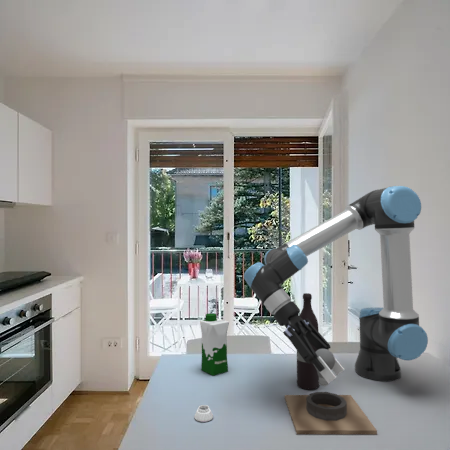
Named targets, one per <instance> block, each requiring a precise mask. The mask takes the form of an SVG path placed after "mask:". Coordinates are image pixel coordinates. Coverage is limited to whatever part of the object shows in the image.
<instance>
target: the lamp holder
mask: <svg viewBox="0 0 450 450" xmlns="http://www.w3.org/2000/svg"><path fill="white" fill-rule="evenodd" d="M284 401H285V404H286V407H287V409H288V413H289V416H290V418H291V422H292V424H293V427H294V431H295V434H296V435H378V430H377V428H376V427H375V426H374V424H373V422H371V420H370V419H369V417H368V416H367V415H366V414H365V412H364V410H362V408H361V407H360V405H359V404H358V403H357V401H356V400H355V399H354V397H353V396H352V395H351V394H337V393H333V392H329V391H316V392H311V393H309V394H284Z"/></svg>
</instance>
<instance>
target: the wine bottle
mask: <svg viewBox="0 0 450 450" xmlns="http://www.w3.org/2000/svg"><path fill="white" fill-rule="evenodd" d="M302 299H303V300H302V301H303V303H302V304H303V305H302V309H301V310H300V312H299V314H298V315H299V316H300V317H301V318H302V319H303V320H306V319H307V318H308V319H309V320H310V322H311V323H312V325H313V326H314V327H315V328H316V330H317V331H318V332H319V322H318V319H317V317H316V315H315V313H314V310H313V308H312V299H313V295H312V293H307V292H305V293H303V294H302ZM319 333H320V332H319ZM309 343H310V342H309ZM310 344H311V343H310ZM311 346H312V348H313V349H314V351H315V352H316V351H317V349H316V348H315V347H314V346H313V345H312V344H311ZM296 384H297V386H298V388H300V389H303V390H308V391H311V390H317V389H318V388H319V387H320V384H319V376H318V373H317V369H316V367H315V366H314V364H313V363H312V362H311V363H310V364H308V363H307V362H305V361H304V359H303V358H302V356H301V355H300V354H299V352H298V351H297V350H296Z"/></svg>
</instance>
